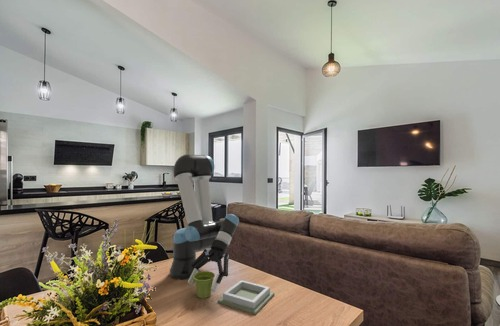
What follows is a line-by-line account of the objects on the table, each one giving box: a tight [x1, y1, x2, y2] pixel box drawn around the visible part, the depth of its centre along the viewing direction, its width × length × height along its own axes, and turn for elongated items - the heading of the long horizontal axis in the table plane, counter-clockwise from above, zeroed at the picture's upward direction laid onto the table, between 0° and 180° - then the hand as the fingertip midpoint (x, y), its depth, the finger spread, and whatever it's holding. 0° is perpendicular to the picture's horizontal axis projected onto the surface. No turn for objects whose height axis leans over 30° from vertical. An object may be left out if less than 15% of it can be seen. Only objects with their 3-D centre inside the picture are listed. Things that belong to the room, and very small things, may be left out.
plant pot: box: [193, 270, 216, 299], centre depth 114 cm, size 9×9×9 cm
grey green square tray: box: [217, 279, 275, 315], centre depth 112 cm, size 18×18×4 cm
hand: (200, 286), depth 112 cm, fingers open, 12 cm apart
